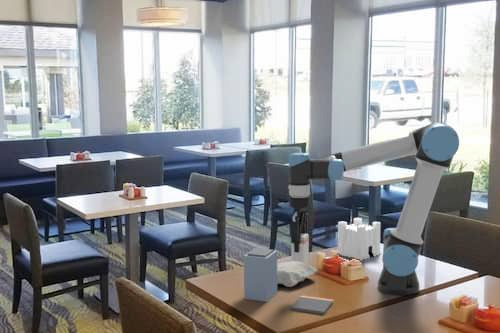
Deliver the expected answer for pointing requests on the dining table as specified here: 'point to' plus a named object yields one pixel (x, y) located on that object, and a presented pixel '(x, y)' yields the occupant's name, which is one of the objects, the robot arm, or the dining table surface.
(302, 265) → the rock
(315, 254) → the dining table surface
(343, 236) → the castle model
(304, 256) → the cartridge
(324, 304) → the mat
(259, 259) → the box
